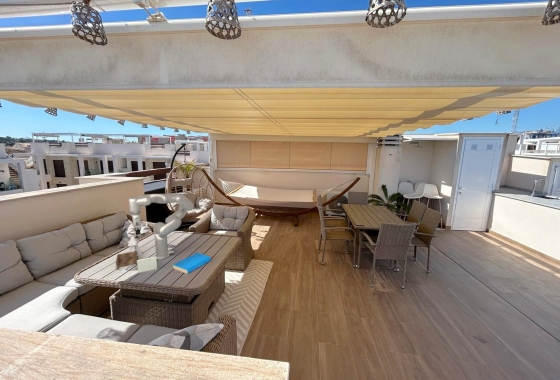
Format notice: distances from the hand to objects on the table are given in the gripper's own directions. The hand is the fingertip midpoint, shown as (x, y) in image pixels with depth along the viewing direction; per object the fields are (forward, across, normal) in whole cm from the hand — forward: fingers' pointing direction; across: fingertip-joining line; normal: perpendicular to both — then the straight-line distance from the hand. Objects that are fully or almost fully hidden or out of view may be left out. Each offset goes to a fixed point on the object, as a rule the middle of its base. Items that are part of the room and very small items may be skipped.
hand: (137, 232), depth 183 cm
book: (+28, -26, -35) cm, 52 cm away
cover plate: (+28, -15, -3) cm, 32 cm away
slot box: (+28, +6, +9) cm, 30 cm away
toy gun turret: (+28, +22, +2) cm, 35 cm away
